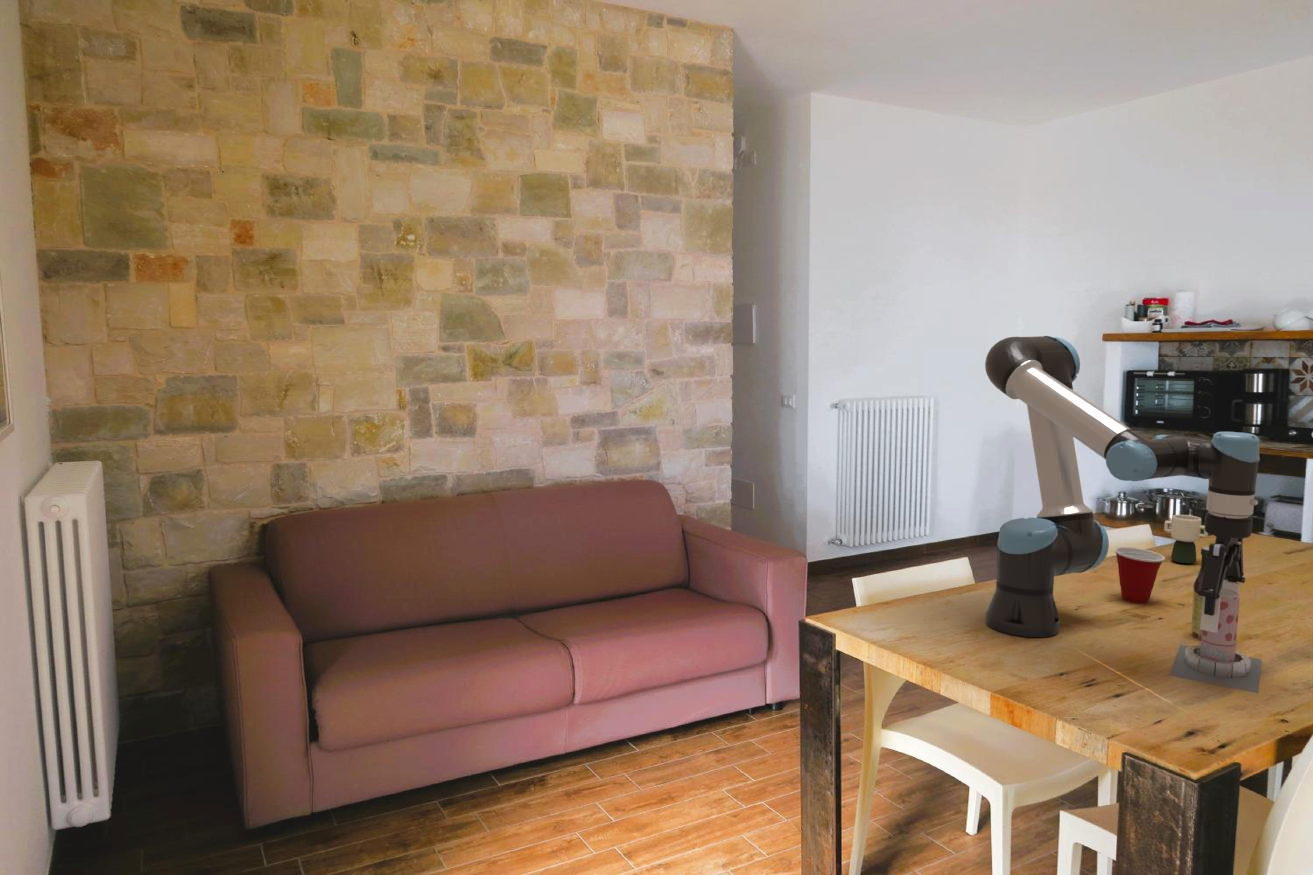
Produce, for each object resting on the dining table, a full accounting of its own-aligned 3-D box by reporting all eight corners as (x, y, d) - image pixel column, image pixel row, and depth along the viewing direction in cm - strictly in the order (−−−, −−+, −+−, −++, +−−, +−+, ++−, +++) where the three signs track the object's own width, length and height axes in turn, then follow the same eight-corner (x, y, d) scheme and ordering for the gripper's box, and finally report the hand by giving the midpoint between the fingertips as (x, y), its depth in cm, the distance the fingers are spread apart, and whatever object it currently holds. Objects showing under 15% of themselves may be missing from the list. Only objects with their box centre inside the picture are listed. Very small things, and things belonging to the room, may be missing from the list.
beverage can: (1195, 666, 173) (1201, 591, 171) (1203, 659, 177) (1209, 585, 175) (1229, 674, 169) (1235, 597, 167) (1237, 666, 173) (1243, 591, 171)
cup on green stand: (1209, 563, 249) (1212, 518, 248) (1201, 568, 245) (1205, 522, 243) (1166, 556, 257) (1169, 512, 256) (1157, 561, 252) (1161, 515, 251)
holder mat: (1257, 695, 161) (1258, 692, 161) (1168, 677, 169) (1169, 674, 169) (1261, 661, 177) (1261, 659, 177) (1180, 646, 185) (1180, 644, 185)
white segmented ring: (1213, 679, 167) (1214, 666, 167) (1172, 658, 177) (1173, 646, 177) (1262, 675, 169) (1263, 662, 168) (1219, 655, 179) (1220, 643, 178)
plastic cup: (1157, 610, 209) (1161, 560, 207) (1107, 601, 215) (1110, 552, 214) (1165, 598, 217) (1168, 550, 216) (1115, 590, 224) (1119, 544, 222)
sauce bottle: (1212, 634, 193) (1220, 544, 190) (1232, 644, 186) (1240, 551, 184) (1182, 634, 192) (1189, 544, 190) (1201, 644, 186) (1209, 551, 184)
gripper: (1234, 528, 158) (1223, 643, 161) (1268, 507, 175) (1257, 612, 178) (1187, 520, 163) (1176, 632, 166) (1224, 501, 180) (1214, 603, 183)
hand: (1218, 622), depth 172 cm, fingers open, 13 cm apart
